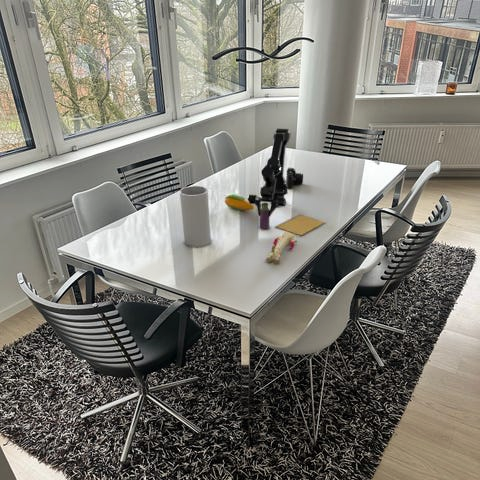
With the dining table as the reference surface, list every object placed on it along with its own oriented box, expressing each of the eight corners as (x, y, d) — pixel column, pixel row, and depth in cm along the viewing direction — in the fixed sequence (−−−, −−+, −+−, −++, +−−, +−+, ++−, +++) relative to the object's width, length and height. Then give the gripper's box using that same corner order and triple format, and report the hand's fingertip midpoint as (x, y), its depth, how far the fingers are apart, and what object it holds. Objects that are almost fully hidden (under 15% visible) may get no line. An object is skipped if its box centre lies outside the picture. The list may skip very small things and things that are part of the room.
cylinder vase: (200, 249, 211) (196, 197, 197) (179, 243, 217) (173, 192, 202) (215, 239, 220) (213, 188, 205) (195, 234, 225) (190, 184, 211)
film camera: (308, 188, 276) (309, 171, 270) (288, 190, 273) (289, 173, 268) (297, 179, 290) (298, 163, 284) (279, 180, 288) (279, 165, 282)
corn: (229, 190, 253) (258, 197, 243) (231, 203, 258) (258, 211, 247) (221, 194, 249) (249, 202, 238) (222, 207, 254) (250, 216, 243)
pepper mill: (263, 224, 233) (264, 201, 225) (271, 227, 230) (271, 203, 223) (257, 227, 230) (257, 204, 223) (265, 230, 227) (265, 206, 220)
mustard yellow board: (299, 215, 242) (299, 214, 241) (324, 223, 233) (324, 222, 233) (275, 227, 230) (275, 226, 230) (301, 235, 221) (301, 235, 221)
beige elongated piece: (283, 267, 198) (300, 239, 215) (283, 250, 192) (301, 223, 210) (261, 263, 201) (280, 236, 219) (261, 246, 196) (280, 220, 213)
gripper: (248, 178, 222) (242, 207, 219) (285, 180, 217) (280, 211, 215) (252, 188, 232) (247, 217, 230) (288, 191, 228) (283, 220, 226)
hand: (263, 216), depth 225 cm, fingers closed on pepper mill, 5 cm apart
